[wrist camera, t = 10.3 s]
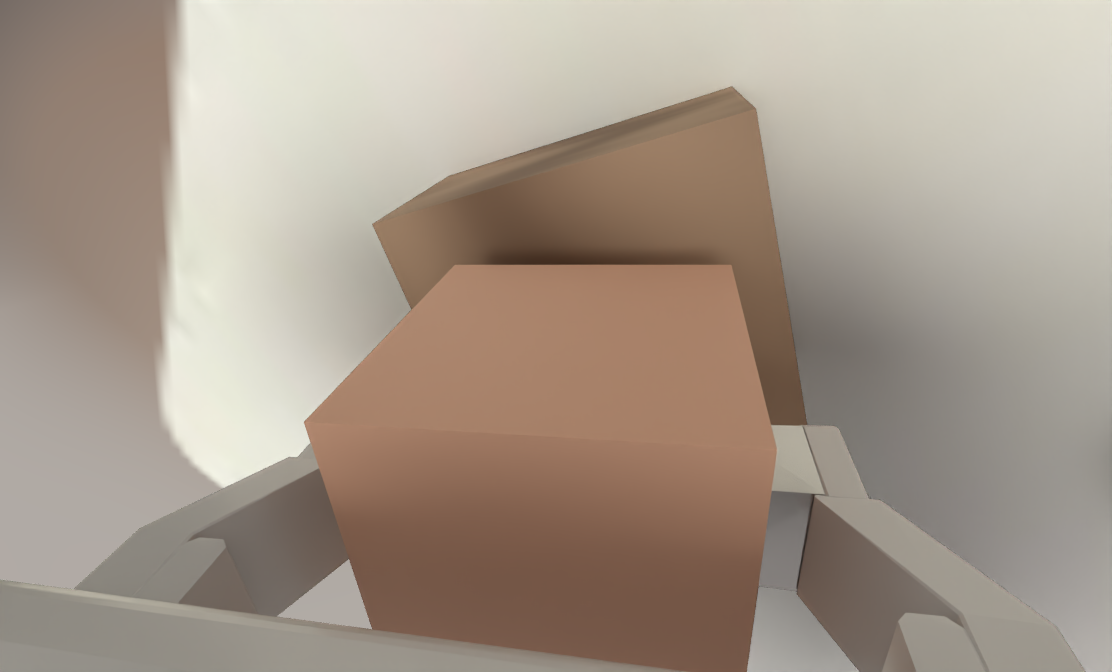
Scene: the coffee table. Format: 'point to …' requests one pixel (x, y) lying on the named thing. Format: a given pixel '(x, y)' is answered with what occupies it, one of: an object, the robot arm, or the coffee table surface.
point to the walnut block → (621, 217)
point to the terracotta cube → (559, 465)
